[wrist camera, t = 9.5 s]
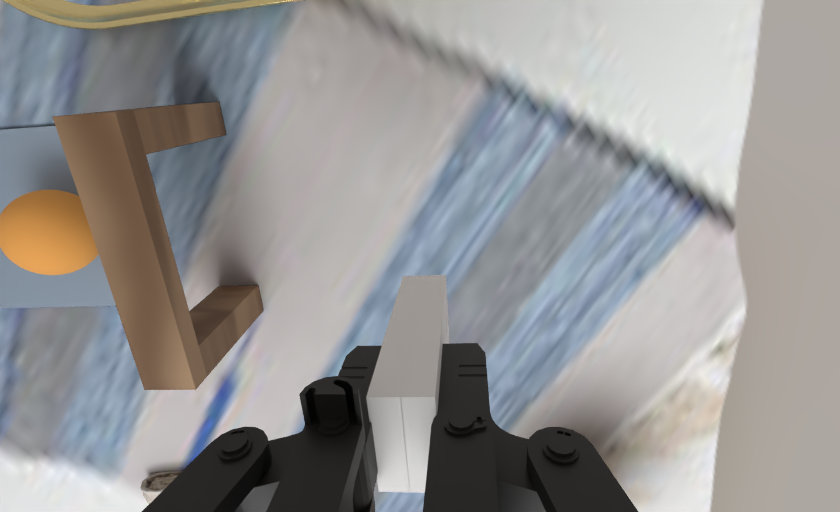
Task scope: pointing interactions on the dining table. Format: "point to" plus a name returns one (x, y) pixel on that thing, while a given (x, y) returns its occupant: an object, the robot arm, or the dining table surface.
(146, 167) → the bridge
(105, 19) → the oval ring
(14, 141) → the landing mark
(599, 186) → the dining table surface
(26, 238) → the ball
